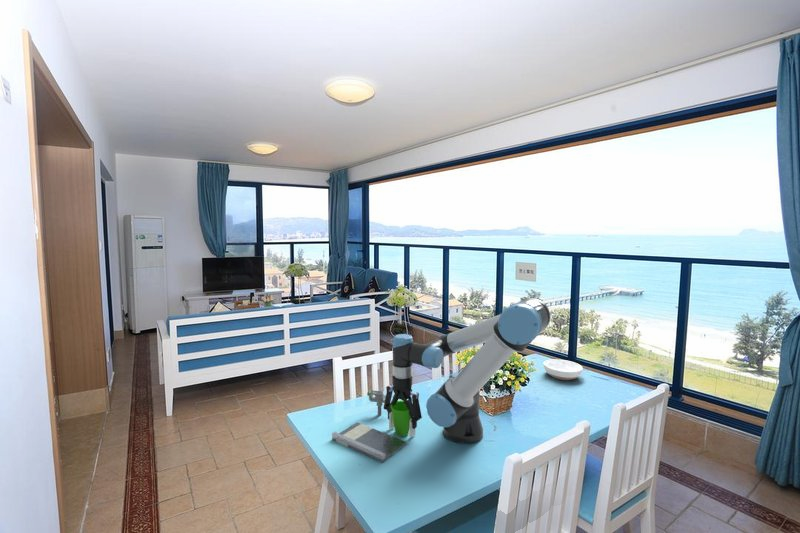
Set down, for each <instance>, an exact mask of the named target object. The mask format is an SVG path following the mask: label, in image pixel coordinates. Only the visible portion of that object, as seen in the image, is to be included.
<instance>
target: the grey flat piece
mask: <svg viewBox="0 0 800 533" xmlns="http://www.w3.org/2000/svg"><path fill="white" fill-rule="evenodd" d="M331 434H332V435H331V440H332V441H334V442H336V443H338V444H341V445H343V446H345V447H347V448H349V449H352V450H354V451H356V452H358V453H360V454H362V455H365V456H367V457H369V458H372V459H374V460H375V461H377V462H380V463H381V464H382V463H384V462H385V461H387V460H388V459H389V458H391V457H392V456H394V455H395V454H397V452H399V451H400V450H401V449H403V448H404V447H405V446H407V441H405V440H403V439H401V438H397V437H395V436H393V435H390V434H388V433H385V432H384V431H380V430H378V429H375V428H372V427H370V426H367V425H365V424H363V423H361V422H359V421H358V422H355V423H354V424H352V425H351V426H349V427H348V428H346V429H344V430H342V431H340V432H337V431H334V432H332V433H331Z"/></svg>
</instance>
